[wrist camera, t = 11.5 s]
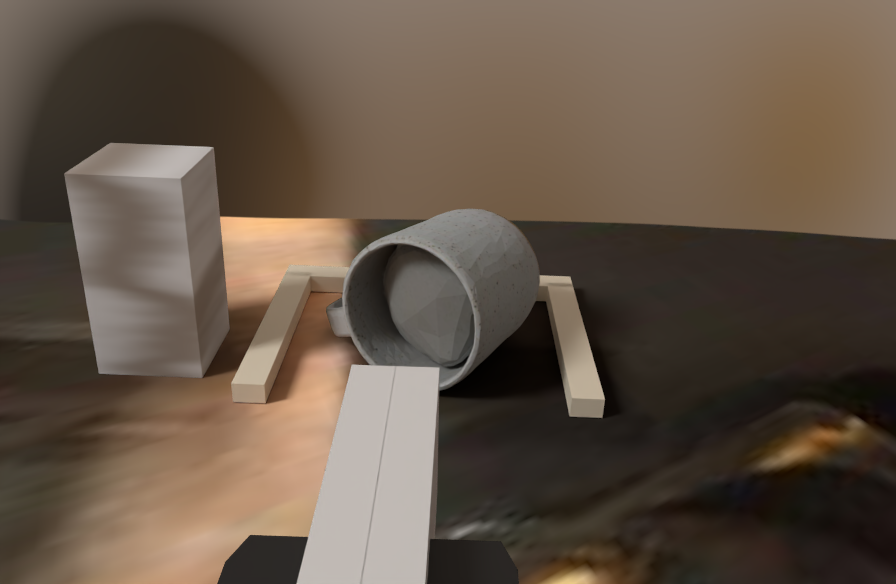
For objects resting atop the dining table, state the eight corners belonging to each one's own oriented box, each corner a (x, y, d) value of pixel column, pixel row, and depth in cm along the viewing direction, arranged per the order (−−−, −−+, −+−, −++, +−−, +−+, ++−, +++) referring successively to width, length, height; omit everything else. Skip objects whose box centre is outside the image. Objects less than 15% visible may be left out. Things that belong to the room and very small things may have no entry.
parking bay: (568, 291, 49) (570, 276, 49) (602, 417, 37) (605, 399, 37) (290, 279, 49) (289, 264, 49) (232, 402, 37) (231, 383, 37)
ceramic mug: (544, 340, 44) (555, 205, 40) (476, 413, 37) (483, 259, 34) (378, 297, 48) (376, 172, 45) (292, 355, 42) (282, 214, 38)
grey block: (229, 329, 43) (213, 147, 39) (202, 377, 39) (180, 178, 35) (137, 325, 43) (110, 142, 39) (98, 373, 39) (64, 173, 35)
